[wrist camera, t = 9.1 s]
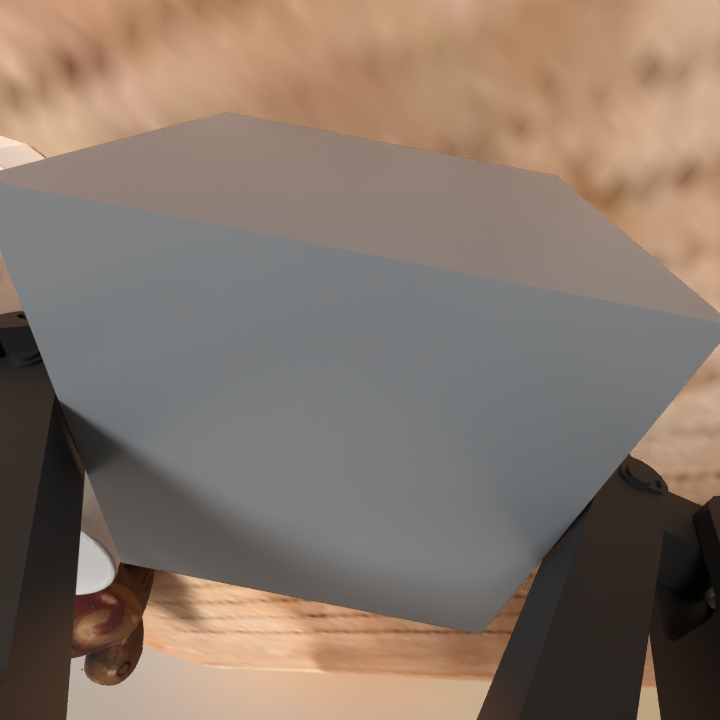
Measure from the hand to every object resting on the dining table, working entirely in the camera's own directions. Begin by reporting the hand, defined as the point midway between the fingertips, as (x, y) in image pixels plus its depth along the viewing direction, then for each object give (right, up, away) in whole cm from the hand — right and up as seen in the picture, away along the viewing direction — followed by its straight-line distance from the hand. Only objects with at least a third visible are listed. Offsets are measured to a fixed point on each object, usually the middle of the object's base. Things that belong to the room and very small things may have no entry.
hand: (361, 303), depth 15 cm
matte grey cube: (0, 0, +1) cm, 1 cm away
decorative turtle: (-22, -18, +21) cm, 35 cm away
